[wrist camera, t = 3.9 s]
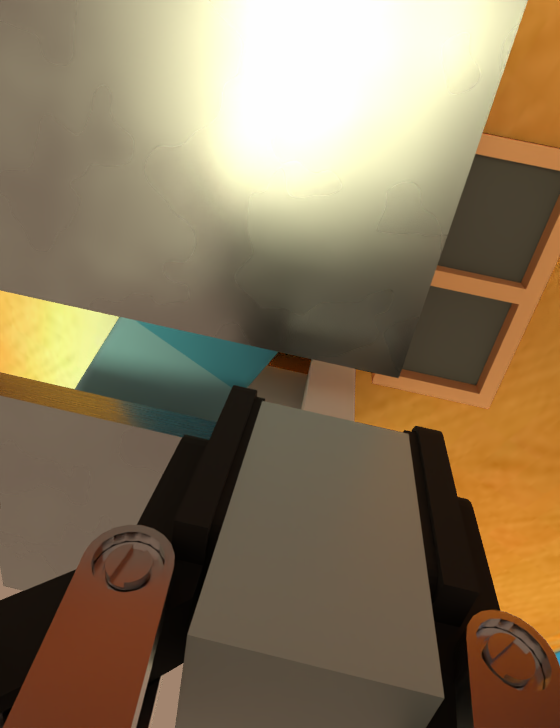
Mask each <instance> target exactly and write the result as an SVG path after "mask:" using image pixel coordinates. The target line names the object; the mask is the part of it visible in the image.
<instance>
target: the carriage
mask: <svg viewBox="0 0 560 728" xmlns="http://www.w3.org/2000/svg"><path fill="white" fill-rule="evenodd" d="M355 370H356V369H354V368H349V367H345V366H340V365H335V364H331V363H326V362H322V361H317V360H313V359H311V362H310V367H309V371H308V374H303V373H299V372H295V371H290V370H286V369H281V368H277V367H272V366H268V365H267V366H266V367H265V368H264V369H263V370H262V372H261V373H260V374H259V375H258V376H257V377H256V378H255V380H254V381H253V382H252V383H251V384H250V385H249V387H248V388H250V389H254V390H257V391H258V392H257V397H260V398H265V401H262V404H261V407H260V410H259V413H258V416H257V419H256V422H255V425H254V429H253V432H252V435H251V438H250V441H249V444H248V447H247V450H246V454H245V457H244V460H243V463H242V466H241V469H240V472H239V475H238V478H237V482H236V485H235V488H234V491H233V494H232V497H231V500H230V503H229V506H228V510H227V513H226V516H225V519H224V522H223V525H222V528H221V531H220V535H219V538H218V541H217V544H216V547H215V550H214V553H213V556H212V559H211V563H210V566H209V569H208V572H207V575H206V578H205V581H204V584H203V588H202V591H201V594H200V597H199V600H198V603H197V606H196V609H195V612H194V616H193V619H192V622H191V625H190V628H189V631H188V634H187V641H186V649H185V657H184V664H183V672H182V679H181V687H180V695H179V703H178V710H177V717H176V725H175V728H426V727H427V725H428V723H429V722H430V720H431V719H432V717H433V716H434V714H435V712H436V711H437V709H438V708H439V706H440V705H441V703H442V701H443V700H444V691H443V684H442V676H441V669H440V661H439V654H438V647H437V639H436V632H435V625H434V617H433V610H432V603H431V595H430V588H429V581H428V573H427V566H426V559H425V551H424V544H423V536H422V529H421V522H420V514H419V507H418V500H417V492H416V485H415V478H414V470H413V463H412V456H411V448H410V441H409V434H407V433H403V432H398V431H394V430H389V429H385V428H380V427H376V426H372V425H367V424H363V423H358V422H354V414H355Z"/></svg>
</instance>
